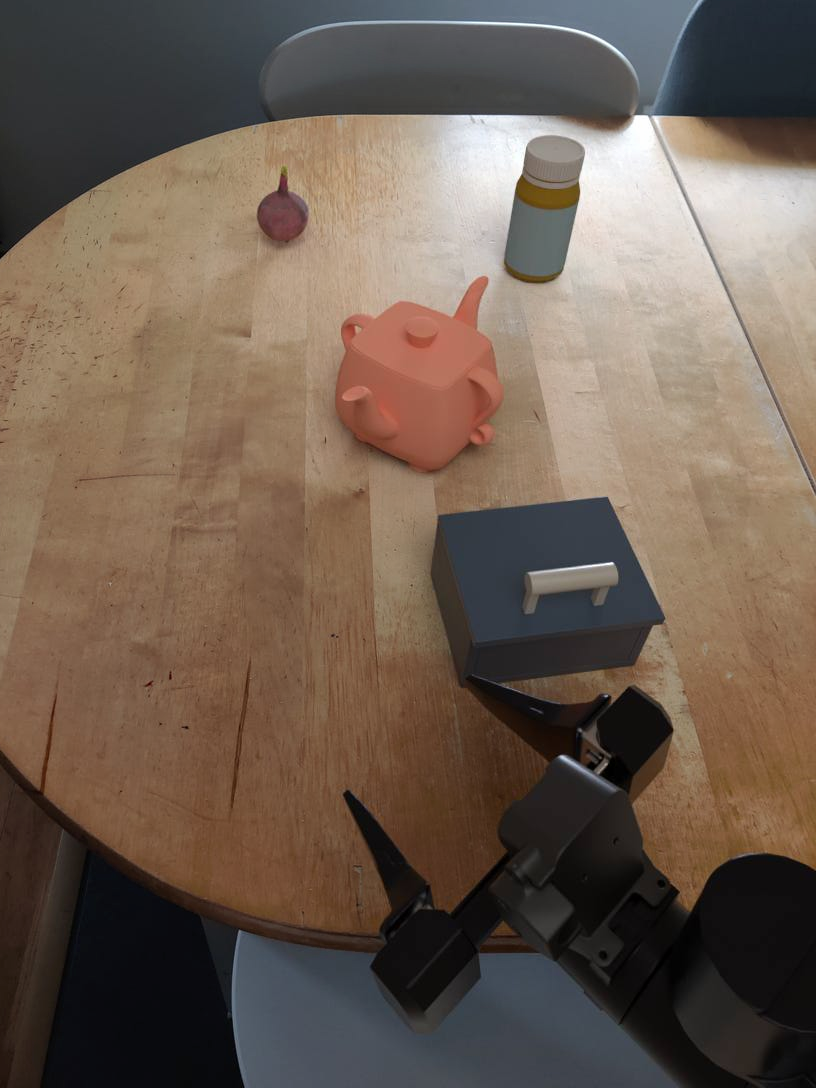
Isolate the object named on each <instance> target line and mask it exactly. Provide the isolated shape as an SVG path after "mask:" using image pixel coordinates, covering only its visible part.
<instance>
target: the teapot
mask: <svg viewBox="0 0 816 1088" xmlns="http://www.w3.org/2000/svg"><path fill="white" fill-rule="evenodd" d="M489 281H490V280H489V277H488V276H487V275H482V276H479V277H477V278H476V279H475V280H473V281H472V282H471V283H470V285H469V286H468V287H467V290H466V291H465V293H464V295H463V296H462V299H461V301H460V303H459V305H458V307H457V308H456V310H455V312H454V315H453V316H450V315H448V314H445V313H444V312H441V311H438V310H435V309H433V308H430V307H428V306H425V305H422V304H419V303H415V302H411V301H408V300H407V301H406V300H399V301H398V302H395V303H394V304H393V305H390V306H389V307H388V308H387V309H385V310H384V311H383V312H382V313H380V314H379V315H378V316H376V317H374V316H372V315H370V314H368V313H364V312H363V313H362V312H360V313H359V312H358V313H354V314H351V315H349V316H348V317H347V318H346V319H345V320H344V321H343V322H342V324H341V327H340V335H341V341H342V344H343V347H344V349H345V352H344V355H343V357H342V360H341V363H340V365H339V370H338V373H337V379H336V385H335V392H334V407H335V410H336V412H337V414H338V416H339V418H340V420H341V421H342V423H343V424H344V425H345V426H346V427H347V428H348V429H350V430H351V431H352V432H354V435H355V437H356V439H357V440H358V441H360V442H361V443H367V444H368V443H369V444H371V445H372V446H374V447H376V448H377V449H378V450H381V451H383V452H385V453H387V454H389V455H391V456H393V457H395V458H397V459H400V460H402V461H405V462H407V464H408V466H409V467H410V468H411V469H412V470H413V471H415V472H419V473H427V472H430V471H432V470H435V471H436V470H440V469H441V468H444V467H445V466H446V465H447V464H449V462H451V461H452V460H453V459H454V458H455V457H456V456H457V455H458V454H460V453H461V451H462V450H463V449H464V448H465V447H466V446H467V445H468V444H469V443H470V442H471V443H472V444H474V445H476V446H481V447H485V446H487V445H489V444H491V443H492V442H493V440H494V439H495V437H496V431H495V429H494V427H493V426H492V425H491V424H489V423H487V422H488V420H490V419H491V418H492V417H493V416H494V415H495V414H496V413H497V411H499V409H500V407H501V406H502V404H503V401H504V398H505V391H504V388H503V386H502V383H501V382H500V380H499V377H498V366H497V362H496V360H497V359H496V355H495V349H494V346H493V341H492V340H491V339H490V338H489V337H488V336H486V335H485V334H483V333H482V332H480V331H479V330H478V319H479V309H480V304H481V301H482V298H483V295H484V294H485V291H486V289H487V288H488V286H489V283H490V282H489ZM356 327H357V328H360V329H361V330H360V331H358V333H357V331H356Z"/></svg>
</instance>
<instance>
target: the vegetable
mask: <svg viewBox="0 0 816 1088" xmlns="http://www.w3.org/2000/svg"><path fill="white" fill-rule="evenodd" d="M280 169H281V170H280V176H279V184H278V187H277V190H274V191H272V192H271V193H270V192H269V194H267V195H266V196H264V198H262V200H261V201H260V202H259V204H258V207H257V209H256V219H257V223H258V225H259V228H260V230H261V232H262V233H263V234H264V235H265V236H267V238H269V239H271V240H273V241H275V242H281V243H283V242H284V243H285V244H287V243H290V241H293V240H295V239H296V238H298V237H299V236H300V235H301V234H302V233H304V230H305V229H306V227H307V225H308V222H309V218H310V217H309V216H310V213H309V208H308V205H307V202H305V200H304V199H303V198H302V197H301V196H300V195H299V194H297V193H295V192H293V191H290V190H289V183H288V182H289V180H288V178H289V176H288V169H287V166H284V165H283V166H281V168H280Z"/></svg>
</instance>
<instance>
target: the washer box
mask: <svg viewBox="0 0 816 1088" xmlns="http://www.w3.org/2000/svg"><path fill="white" fill-rule="evenodd" d="M430 578H431V581H432V585H433V589H434V593H435V596H436V600H437V604H438V608H439V610H440V615H441V617H442V618H441V619H442V623H443V625H444V629H445V630H444V631H445V633H446V637H447V641H448V645H449V648H450V652H451V657H452V660H453V663H454V667H455V670H456V674H457V678H458V682H459V686H460V688H461V689H465V688H466V686H465V677H466V676H467V675H468V674H472V675H475V676H478V677H481V678H484V679H486V680H489V681H492V682H495V683H498V684H503V683H511V682H517V681H526V680H534V679H539V678H540V679H541V678H549V677H557V676H564V675H572V674H578V673H579V674H580V673H587V672H595V671H602V670H609V669H617V668H624V667H632V666H635V665H636V664H637V661H638V660H639V657H640V654H641V653H642V650H643V648H644V646H645V644H646V642H647V640H648V638H649V635H650V633H651V631H652V629H653V627H654V626H646V627H638V628H630V629H622V630H614V631H606V632H598V633H591V634H583V635H575V636H567V637H559V638H551V639H543V640H535V641H527V642H520V643H512V644H504V645H496V646H488V647H480V648H474V646H473V643H472V639H471V636H470V632H469V629H468V625H467V622H466V619H465V615H464V612H463V608H462V605H461V601H460V598H459V594H458V591H457V587H456V584H455V581H454V577H453V574H452V570H451V567H450V563H449V560H448V556H447V553H446V549H445V546H444V542H443V539H442V536H441V532H440V529H439V525H438V522H436V530H435V537H434V544H433V552H432V559H431V567H430ZM466 689H467V688H466Z"/></svg>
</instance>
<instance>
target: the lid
mask: <svg viewBox="0 0 816 1088" xmlns="http://www.w3.org/2000/svg"><path fill="white" fill-rule="evenodd" d="M437 522H438V525H439V529H440V532H441V536H442V539H443V542H444V546H445V549H446V553H447V556H448V560H449V563H450V567H451V570H452V574H453V577H454V581H455V584H456V587H457V591H458V594H459V598H460V601H461V605H462V608H463V612H464V615H465V619H466V622H467V625H468V629H469V632H470V636H471V639H472V643H473V646H474V648H480V647H488V646H496V645H504V644H512V643H520V642H527V641H535V640H543V639H551V638H559V637H567V636H575V635H583V634H591V633H598V632H606V631H614V630H622V629H630V628H638V627H646V626H653V627H654V626H660V625H661V626H662V625H664V623H665V620H666V616H665V614H664V612H663V610H662V607H661V605H660V604H659V601H658V599H657V597H656V595H655V593H654V591H653V589H652V587H651V585H650V582H649V580H648V578H647V577H646V574H645V572H644V570H643V568H642V566H641V563H640V561H639V559H638V557H637V555H636V553H635V551H634V548H633V546H632V544H631V543H630V540H629V538H628V536H627V534H626V531H625V530H624V527H623V525H622V524H621V521H620V519H619V518H618V515H617V513H616V510H615V509H614V507H613V504H612V502H611V500H610V498H609V496H608V495H605V496H597V497H589V498H578V499H569V500H561V501H560V500H559V501H551V502H543V503H535V504H526V505H525V504H524V505H516V506H508V507H499V508H488V509H480V510H470V511H462V512H453V513H445V514H443V513H442V514H438V515H437ZM437 522H436V523H437Z"/></svg>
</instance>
